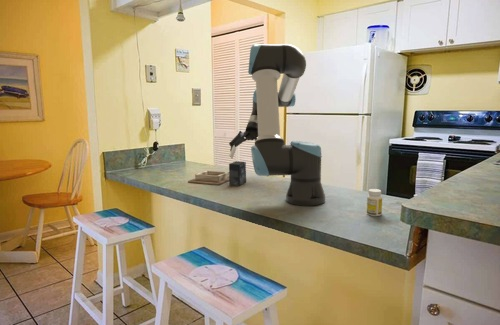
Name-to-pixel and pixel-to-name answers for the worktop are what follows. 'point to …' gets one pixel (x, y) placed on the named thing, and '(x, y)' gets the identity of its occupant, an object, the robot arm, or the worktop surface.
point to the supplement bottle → (374, 202)
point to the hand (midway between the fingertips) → (243, 157)
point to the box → (237, 173)
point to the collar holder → (211, 178)
